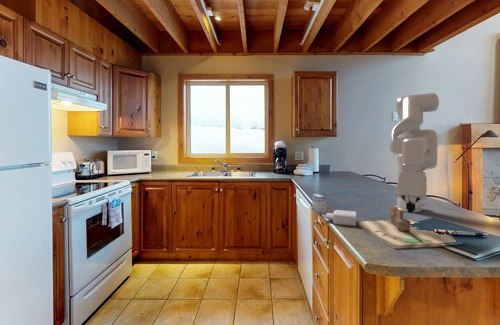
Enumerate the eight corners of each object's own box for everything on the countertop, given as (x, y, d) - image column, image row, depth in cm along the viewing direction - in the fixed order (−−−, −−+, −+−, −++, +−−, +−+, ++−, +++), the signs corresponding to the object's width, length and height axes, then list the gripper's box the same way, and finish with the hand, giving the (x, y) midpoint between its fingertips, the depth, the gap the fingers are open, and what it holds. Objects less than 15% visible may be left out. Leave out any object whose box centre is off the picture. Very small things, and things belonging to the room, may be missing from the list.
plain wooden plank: (385, 220, 113) (386, 205, 112) (396, 220, 112) (396, 205, 112) (414, 241, 89) (415, 222, 89) (427, 242, 89) (428, 222, 88)
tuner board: (411, 222, 115) (411, 218, 115) (463, 245, 90) (463, 241, 89) (355, 224, 113) (355, 221, 113) (393, 248, 87) (393, 244, 87)
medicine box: (312, 209, 138) (312, 194, 137) (320, 209, 138) (320, 193, 138) (317, 214, 130) (317, 197, 130) (325, 213, 131) (325, 197, 130)
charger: (322, 217, 125) (356, 220, 119) (320, 223, 116) (355, 227, 111) (322, 208, 124) (356, 210, 119) (320, 213, 116) (356, 216, 110)
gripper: (435, 168, 103) (433, 212, 105) (393, 166, 113) (392, 207, 114) (433, 170, 97) (431, 217, 99) (389, 168, 107) (388, 211, 109)
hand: (410, 211), depth 107 cm, fingers closed
